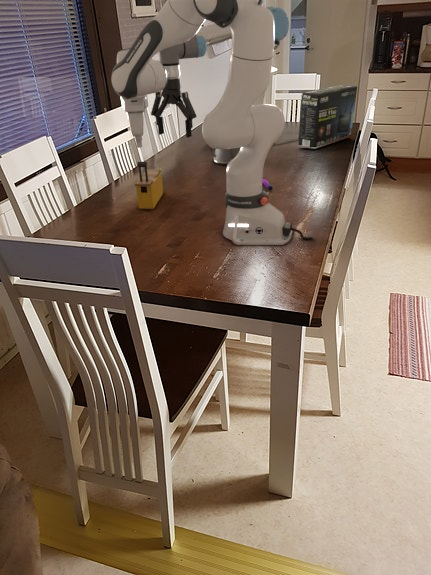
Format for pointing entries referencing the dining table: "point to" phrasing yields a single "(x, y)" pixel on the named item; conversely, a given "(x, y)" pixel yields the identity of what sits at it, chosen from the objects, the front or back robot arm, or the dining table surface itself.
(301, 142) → the router box
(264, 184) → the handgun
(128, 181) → the dining table surface
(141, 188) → the chest
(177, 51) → the back robot arm
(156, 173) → the lid
